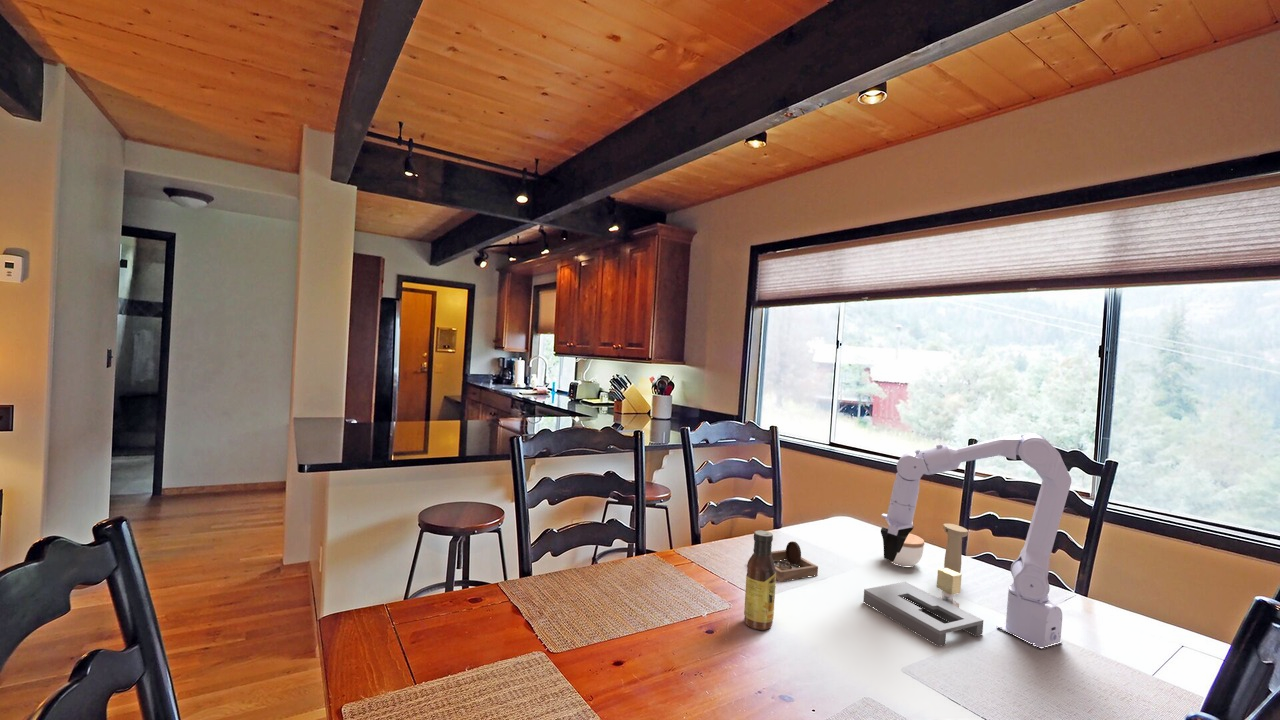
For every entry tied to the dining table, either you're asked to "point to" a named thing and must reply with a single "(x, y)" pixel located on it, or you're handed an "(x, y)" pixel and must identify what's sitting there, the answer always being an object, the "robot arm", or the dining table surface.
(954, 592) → the keyhole peg
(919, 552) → the lidded jar
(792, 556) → the compass
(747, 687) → the dining table surface
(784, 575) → the rim
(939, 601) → the keyhole board
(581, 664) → the dining table surface
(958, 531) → the handle
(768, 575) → the sauce bottle
